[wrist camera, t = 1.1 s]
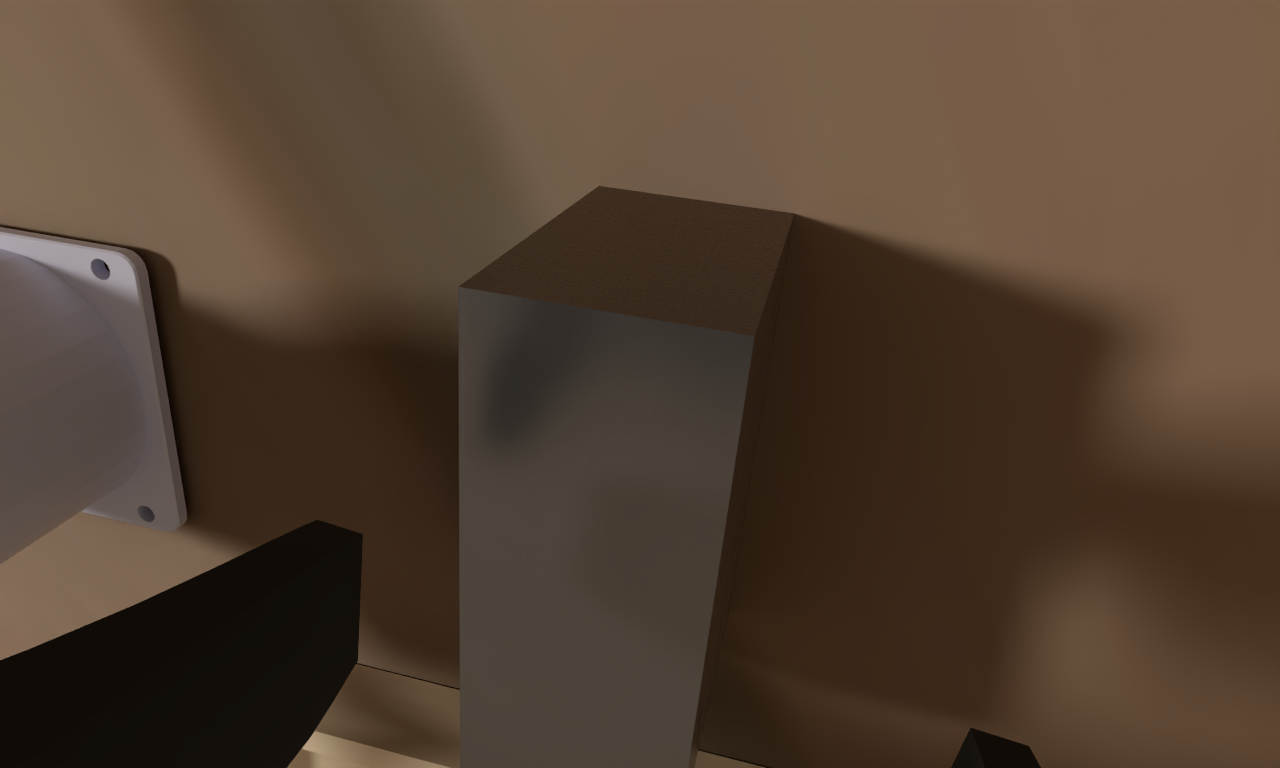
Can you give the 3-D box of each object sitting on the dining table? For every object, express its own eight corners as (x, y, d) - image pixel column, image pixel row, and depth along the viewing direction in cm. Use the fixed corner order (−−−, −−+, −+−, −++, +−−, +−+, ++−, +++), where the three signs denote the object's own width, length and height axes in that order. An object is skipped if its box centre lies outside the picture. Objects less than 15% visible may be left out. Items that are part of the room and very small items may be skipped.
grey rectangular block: (573, 576, 22) (460, 804, 16) (600, 185, 18) (458, 286, 12) (728, 611, 21) (673, 864, 15) (794, 212, 17) (754, 336, 11)
